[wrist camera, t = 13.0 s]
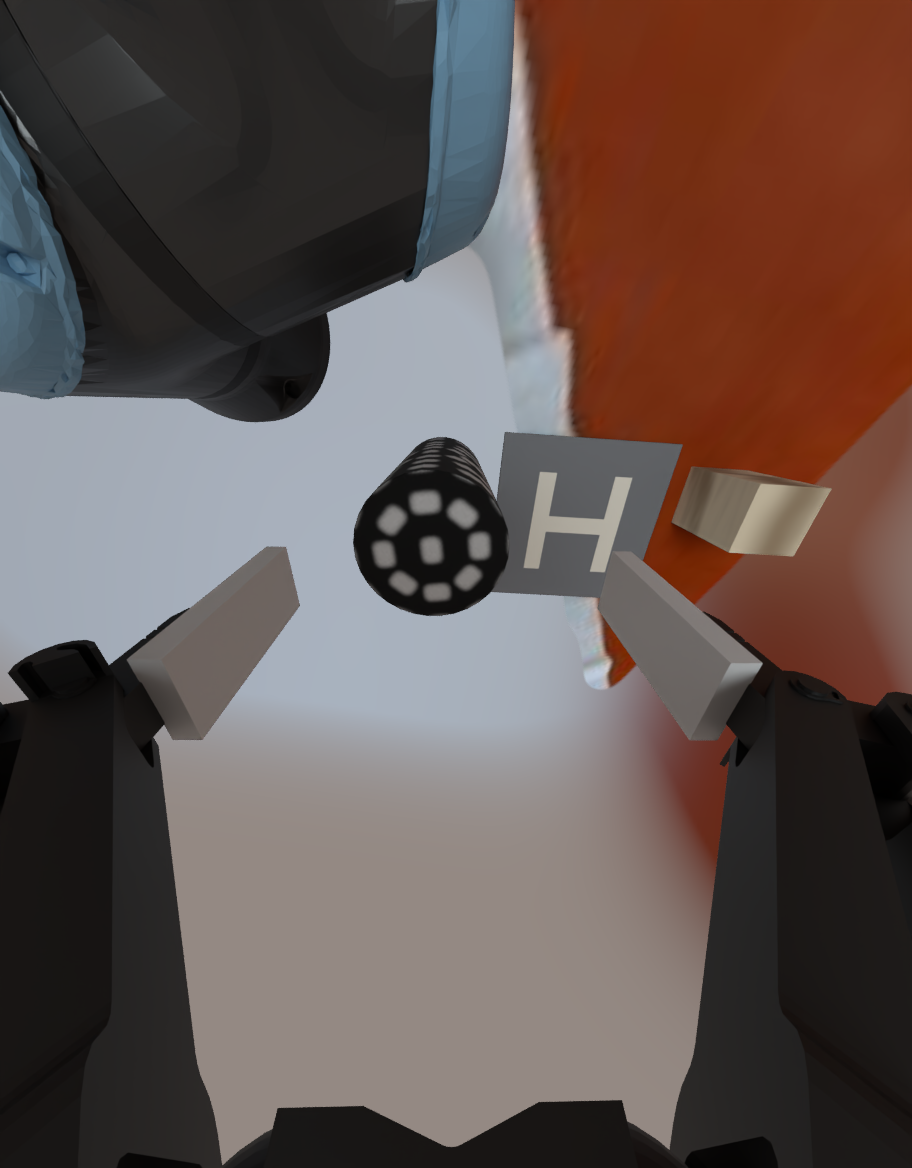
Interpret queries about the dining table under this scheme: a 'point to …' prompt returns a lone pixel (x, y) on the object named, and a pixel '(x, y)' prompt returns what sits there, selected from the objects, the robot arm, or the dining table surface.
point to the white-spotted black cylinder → (433, 532)
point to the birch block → (748, 510)
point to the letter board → (577, 508)
